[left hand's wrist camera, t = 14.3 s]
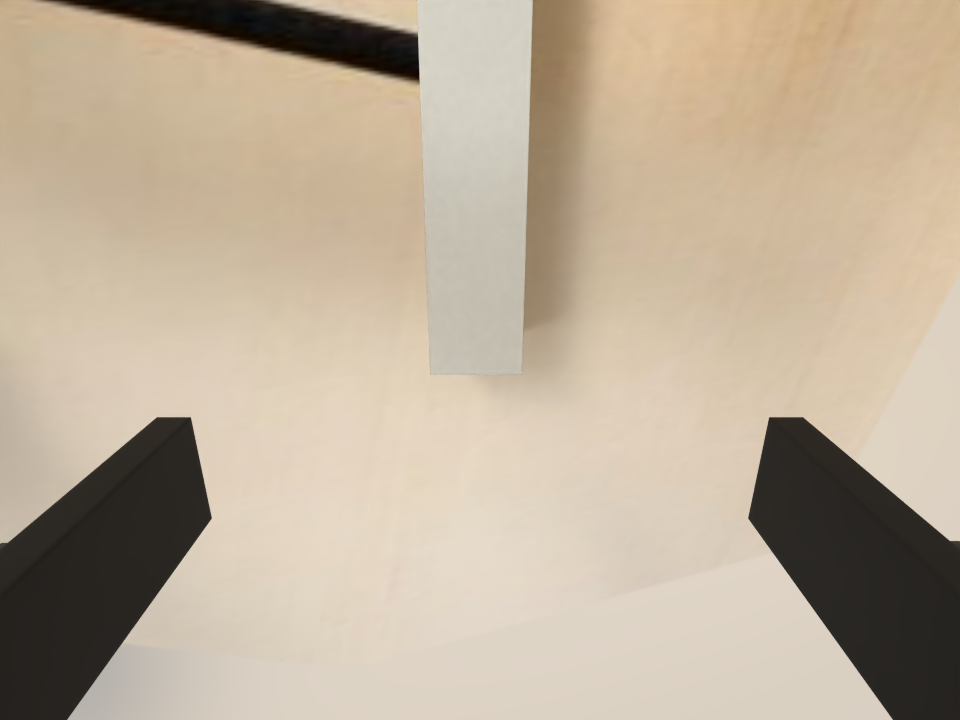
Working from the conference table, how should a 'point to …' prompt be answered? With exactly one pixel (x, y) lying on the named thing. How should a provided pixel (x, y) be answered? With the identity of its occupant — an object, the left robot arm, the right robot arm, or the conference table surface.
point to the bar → (475, 180)
